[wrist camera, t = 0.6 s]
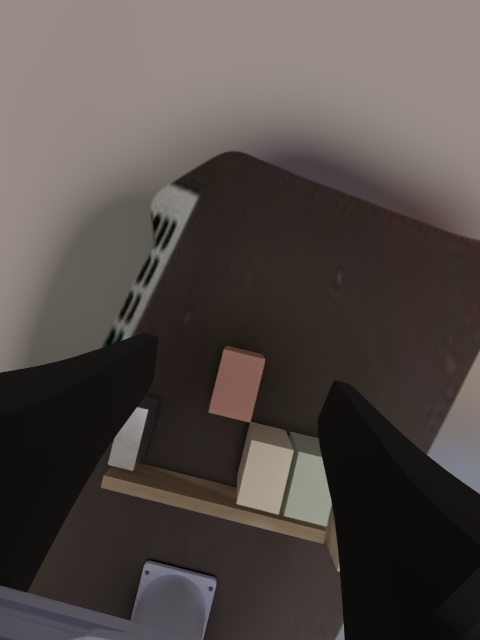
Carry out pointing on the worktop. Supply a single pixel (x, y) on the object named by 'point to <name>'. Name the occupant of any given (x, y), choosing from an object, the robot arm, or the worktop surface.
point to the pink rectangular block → (237, 384)
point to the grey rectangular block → (134, 435)
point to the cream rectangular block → (264, 468)
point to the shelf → (213, 502)
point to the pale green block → (306, 482)
